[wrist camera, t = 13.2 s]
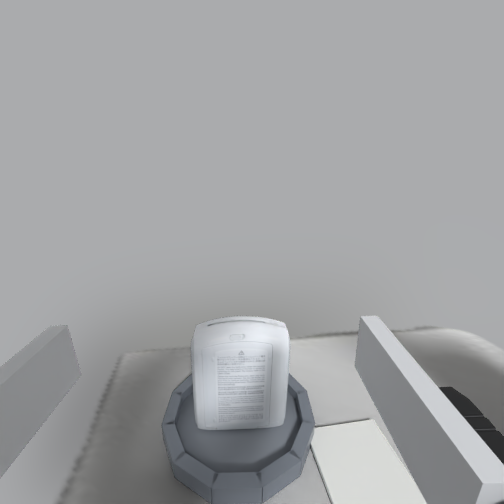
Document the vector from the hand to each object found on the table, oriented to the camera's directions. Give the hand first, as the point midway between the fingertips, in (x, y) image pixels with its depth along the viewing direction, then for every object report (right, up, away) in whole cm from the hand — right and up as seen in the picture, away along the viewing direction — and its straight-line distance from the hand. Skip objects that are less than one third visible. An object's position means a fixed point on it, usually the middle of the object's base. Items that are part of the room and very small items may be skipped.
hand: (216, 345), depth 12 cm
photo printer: (0, -14, +18) cm, 23 cm away
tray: (0, -15, +18) cm, 24 cm away
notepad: (+12, -17, +12) cm, 24 cm away
